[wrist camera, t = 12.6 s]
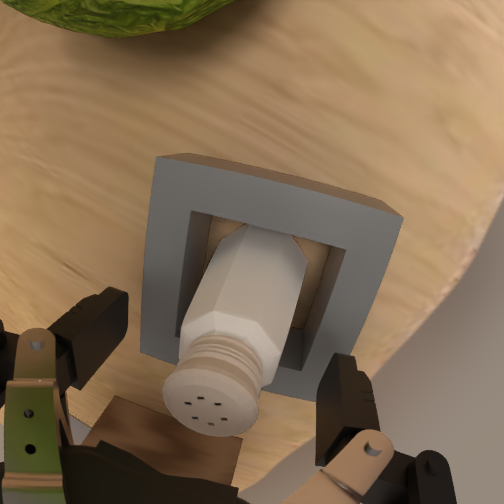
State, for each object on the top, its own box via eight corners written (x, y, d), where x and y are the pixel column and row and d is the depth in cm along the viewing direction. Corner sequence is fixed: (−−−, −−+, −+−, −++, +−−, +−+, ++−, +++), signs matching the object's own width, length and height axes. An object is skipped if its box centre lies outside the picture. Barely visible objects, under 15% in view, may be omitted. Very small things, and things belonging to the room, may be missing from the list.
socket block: (166, 318, 20) (140, 352, 17) (188, 153, 17) (156, 156, 13) (323, 360, 20) (324, 403, 16) (382, 200, 16) (403, 217, 12)
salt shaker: (205, 227, 18) (90, 332, 8) (300, 212, 17) (292, 322, 6) (226, 311, 19) (158, 455, 9) (314, 302, 18) (312, 463, 8)
